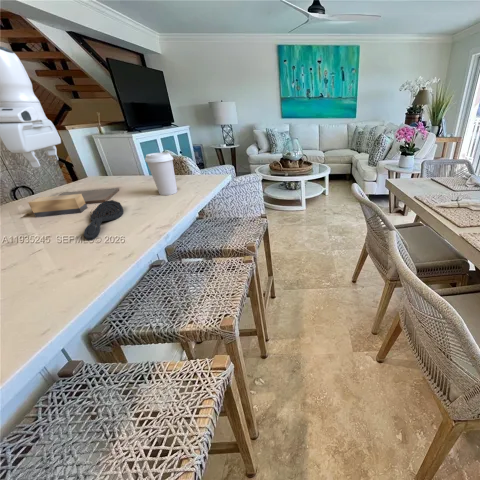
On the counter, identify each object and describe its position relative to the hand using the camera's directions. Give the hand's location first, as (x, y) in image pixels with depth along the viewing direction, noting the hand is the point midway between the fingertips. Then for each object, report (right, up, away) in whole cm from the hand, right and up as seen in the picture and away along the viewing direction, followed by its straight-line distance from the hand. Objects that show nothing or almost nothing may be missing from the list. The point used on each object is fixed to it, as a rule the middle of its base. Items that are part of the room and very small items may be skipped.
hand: (46, 163), depth 81 cm
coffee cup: (+23, -5, +26) cm, 35 cm away
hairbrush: (+18, -18, -1) cm, 26 cm away
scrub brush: (-2, -14, +7) cm, 16 cm away
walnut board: (-6, -8, +19) cm, 22 cm away
